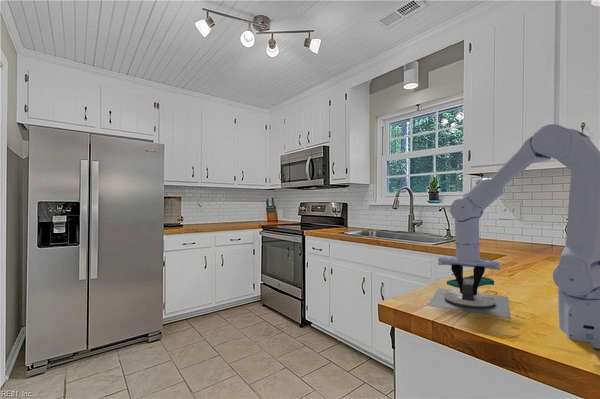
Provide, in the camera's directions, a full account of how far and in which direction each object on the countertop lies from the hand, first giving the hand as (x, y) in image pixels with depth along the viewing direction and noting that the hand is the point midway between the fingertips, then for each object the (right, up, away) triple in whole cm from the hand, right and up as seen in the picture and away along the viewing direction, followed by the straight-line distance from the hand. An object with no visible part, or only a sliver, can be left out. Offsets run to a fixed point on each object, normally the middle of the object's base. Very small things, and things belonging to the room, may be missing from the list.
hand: (468, 293), depth 82 cm
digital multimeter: (+10, -4, +17) cm, 20 cm away
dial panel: (0, -3, 0) cm, 3 cm away
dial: (0, -2, 0) cm, 2 cm away
